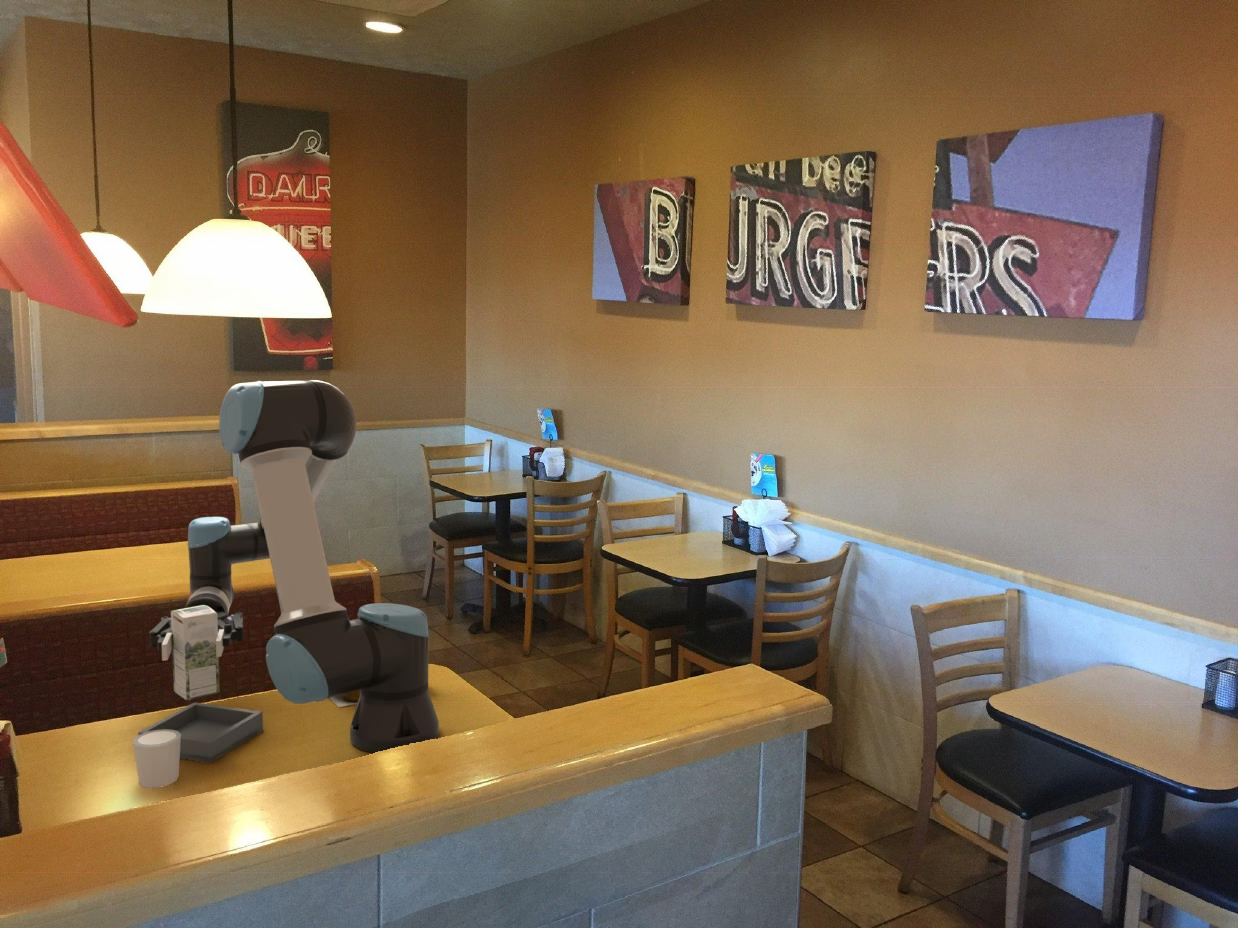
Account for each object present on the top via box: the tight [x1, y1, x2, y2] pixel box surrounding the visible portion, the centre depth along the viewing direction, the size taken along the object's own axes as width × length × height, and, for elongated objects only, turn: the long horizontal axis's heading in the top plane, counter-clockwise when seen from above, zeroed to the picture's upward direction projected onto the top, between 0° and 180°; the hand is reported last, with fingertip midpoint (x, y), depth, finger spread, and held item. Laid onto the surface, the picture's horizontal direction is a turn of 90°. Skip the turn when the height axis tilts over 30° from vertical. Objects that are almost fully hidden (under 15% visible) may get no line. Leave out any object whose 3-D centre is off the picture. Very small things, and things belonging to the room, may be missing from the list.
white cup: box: [132, 729, 181, 789], centre depth 158 cm, size 7×7×7 cm
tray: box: [137, 701, 264, 764], centre depth 173 cm, size 14×14×4 cm
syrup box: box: [170, 605, 220, 701], centre depth 170 cm, size 6×6×14 cm
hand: (191, 650), depth 165 cm, fingers closed on syrup box, 7 cm apart
